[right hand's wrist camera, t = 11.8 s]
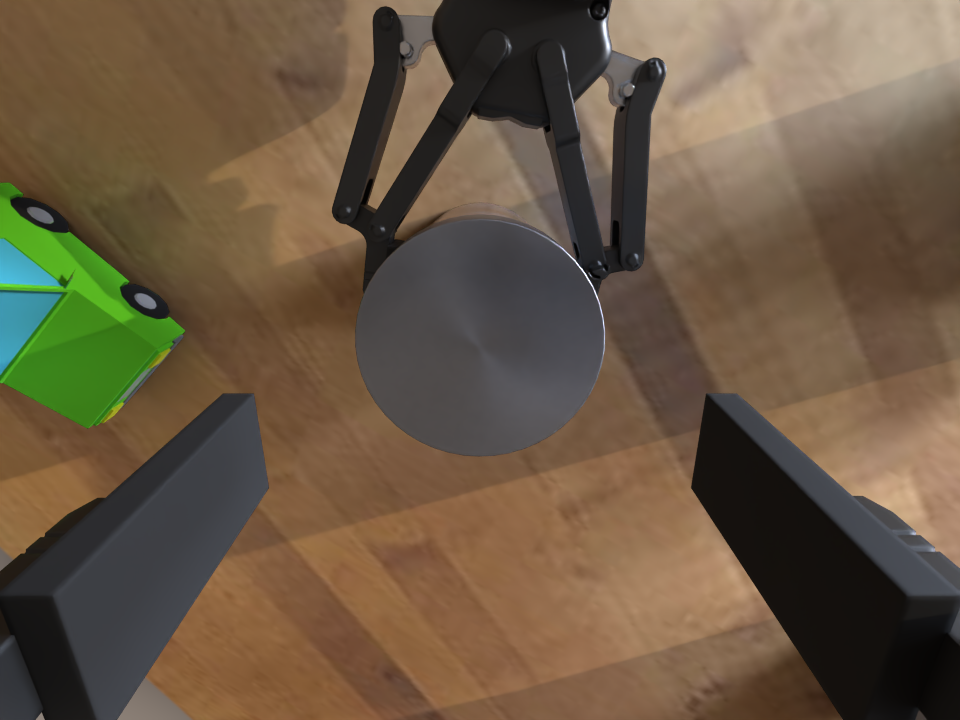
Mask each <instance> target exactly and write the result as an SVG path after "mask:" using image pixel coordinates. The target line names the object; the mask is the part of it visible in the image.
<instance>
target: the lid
mask: <svg viewBox="0 0 960 720" xmlns="http://www.w3.org/2000/svg"><path fill="white" fill-rule="evenodd" d="M355 347H356V354H357V361H358V364H359V368H360V371H361V375H362V377H363V380H364V382H365V384H366V387H367V389H368V391H369V393H370V394H371V396H372V397H373V399H374V401H375V402H376V404H377V405H378V406H379V408H380V409H381V410H382V411H383V413H384V414H385V415H386V416H387V417H388V418H389V419H390V420H391V421H392V422H393V423H394V424H395V425H396V426H397V427H399V428H400V429H401V430H403V431H404V432H405V433H407V434H408V435H410V436H411V437H413V438H415V439H416V440H418V441H420V442H422V443H424V444H426V445H428V446H431V447H433V448H436V449H439V450H442V451H445V452H449V453H454V454H459V455H466V456H495V455H501V454H507V453H511V452H515V451H518V450H522V449H525V448H527V447H529V446H532V445H534V444H537V443H538V442H540V441H542V440H544V439H546V438H547V437H549V436H551V435H552V434H553V433H555V432H556V431H558V430H559V429H560V428H562V427H563V426H564V425H565V424H566V423H567V422H568V421H569V420H570V419H571V418H572V417H573V416H574V415H575V414H576V413H577V412H578V410H579V409H580V408H581V407H582V405H583V404H584V402H585V401H586V399H587V398H588V396H589V395H590V393H591V391H592V389H593V387H594V385H595V382H596V380H597V378H598V375H599V372H600V368H601V365H602V360H603V354H604V348H605V329H604V320H603V314H602V311H601V307H600V303H599V300H598V298H597V295H596V293H595V290H594V288H593V286H592V284H591V282H590V281H589V279H588V277H587V276H586V274H585V272H584V271H583V270H582V269H581V267H580V266H579V265H578V263H577V262H576V261H575V260H574V259H573V258H572V257H571V256H570V255H569V254H568V253H567V252H566V251H565V250H564V249H563V248H562V247H561V246H560V245H559V244H558V243H557V242H556V241H554V240H553V239H552V238H550V237H549V236H548V235H546V234H545V233H543V232H542V231H540V230H538V229H536V228H534V227H532V226H530V225H529V224H526V223H523V222H520V221H518V220H515V219H511V218H507V217H502V216H497V215H484V214H477V215H464V216H458V217H453V218H449V219H446V220H443V221H440V222H437V223H434V224H432V225H430V226H428V227H426V228H424V229H422V230H420V231H418V232H417V233H416V234H414V235H413V236H411V237H410V238H408V239H407V240H406V241H405V242H403V243H402V244H401V245H400V246H399V247H398V248H397V249H396V250H395V251H394V252H393V253H392V254H391V255H390V256H389V257H388V258H387V259H386V260H385V261H384V263H383V264H382V265H381V266H380V267H379V269H378V270H377V271H376V273H375V274H374V276H373V278H372V279H371V281H370V282H369V284H368V286H367V288H366V291H365V293H364V295H363V298H362V300H361V304H360V307H359V311H358V314H357V321H356V329H355Z"/></svg>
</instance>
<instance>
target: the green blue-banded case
mask: <svg viewBox="0 0 960 720" xmlns="http://www.w3.org/2000/svg"><path fill="white" fill-rule="evenodd" d="M23 195H24V194H23V193H21V192H20V191H19V190H18V189H17V188H15V187H14V186H13V185H12V184H10V183H0V383H4V384H6V385H8V386H10V387H11V388H13V389H15V390H17V391H19V392H21V393H23V394H24V395H26V396H28V397H30V398H32V399H34V400H36V401H37V402H39V403H41V404H43V405H45V406H47V407H49V408H50V409H52V410H54V411H56V412H58V413H60V414H61V415H63V416H65V417H67V418H69V419H71V420H73V421H74V422H76V423H78V424H80V425H82V426H84V427H86V428H87V429H88V428H89V427H91V426H92V425H95V426H97V425H98V424H100V423H101V422H102V423H104V422H106V421H107V420H109V419H110V418H112V417H113V416H114V415H115V414H116V413H117V412H118V411H119V409H121V408H122V407H123V406H124V405H125V404H126V403H127V402H128V401H129V400H130V398H131V397H132V396H133V395H134V394H135V393H136V391H137V390H138V389H139V388H140V387H141V386H142V385H143V383H144V382H145V381H146V380H147V379H148V378H149V377H150V375H151V374H152V373H153V372H154V371H155V370H156V368H157V367H158V366H159V365H160V364H161V363H162V362H163V360H164V359H165V358H166V357H167V356H168V355H169V354H170V352H171V351H172V350H173V349H174V348H175V347H176V345H177V344H178V343H179V342H180V341H181V340H182V339H183V337H184V336H182V334H183V333H184V332H185V330H184V329H183V328H182V327H180V326H179V325H178V324H177V323H176V322H175V321H174V320H173V319H171V318H170V317H168V318H167V319H165V318H166V316H167V315H168V313H169V310H168V306H167V304H166V303H165V302H164V301H163V300H162V298H161V297H160V296H159V295H157V294H155V293H154V292H152V291H151V290H149V289H148V288H145V287H142V286H139V285H136V284H128V283H129V281H128V280H127V279H126V278H125V277H124V276H123V275H121V274H120V273H119V272H118V271H116V270H115V269H114V268H113V267H112V266H110V265H109V264H108V263H107V262H106V261H104V260H103V259H102V258H101V257H99V256H98V255H97V254H96V253H95V252H93V251H92V250H91V249H90V248H88V247H87V246H86V245H85V244H84V243H82V242H81V241H80V240H79V239H77V238H76V237H75V236H74V235H73V234H71V233H70V232H68V230H69V228H68V223H67V221H66V220H65V219H64V218H63V217H62V216H61V215H60V214H59V213H58V212H56V211H55V210H53V209H52V208H50V207H49V206H47V205H46V204H43V203H41V202H38V201H36V200H33V199H31V198H23V197H22V196H23ZM67 232H68V233H67Z"/></svg>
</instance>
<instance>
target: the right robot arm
mask: <svg viewBox="0 0 960 720" xmlns="http://www.w3.org/2000/svg"><path fill="white" fill-rule="evenodd" d="M268 489H269V485H268V479H267V473H266V466H265V460H264V454H263V448H262V441H261V435H260V429H259V423H258V416H257V410H256V404H255V398H254V394H222V395H221V396H220V397H219V398H218V399H216V400H215V401H214V402H213V403H212V404H211V405H210V406H209V407H207V408H206V409H205V410H204V411H203V412H202V413H201V414H200V415H198V416H197V417H196V418H195V419H194V420H193V421H192V422H191V423H189V424H188V425H187V426H186V427H185V428H184V429H183V430H182V431H180V432H179V433H178V434H177V435H176V436H175V437H174V438H173V439H171V440H170V441H169V442H168V443H167V444H166V445H165V446H164V447H162V448H161V449H160V450H159V451H158V452H157V453H156V454H154V455H153V456H152V457H151V458H150V459H149V460H148V461H147V462H145V463H144V464H143V465H142V466H141V467H140V468H139V469H138V470H136V471H135V472H134V473H133V474H132V475H131V476H130V477H129V478H127V479H126V480H125V481H124V482H123V483H122V484H121V485H120V486H118V487H117V488H116V489H115V490H114V491H113V492H112V493H111V494H109V495H108V496H107V497H106V498H96V499H95V500H93V501H91V502H89V503H87V504H85V505H84V506H82V507H80V508H78V509H76V510H74V511H73V512H71V513H69V514H67V515H66V516H65V517H64V518H63V519H61V520H60V521H59V522H58V523H57V524H55V525H54V526H53V527H52V528H51V529H50V530H48V531H47V532H46V533H45V537H40V538H39V539H38V540H37V541H35V542H34V543H33V544H32V545H31V546H29V547H28V548H27V549H26V553H25V554H20V555H19V556H18V557H16V558H15V559H14V560H13V561H12V562H11V563H9V564H8V565H7V566H6V567H5V568H3V569H2V570H1V571H0V720H36V718H37V717H38V716H39V715H40V713H41V712H42V714H43V716H44V719H45V720H117V719H118V717H119V716H120V714H121V713H122V711H123V710H124V708H125V707H126V705H127V704H128V702H129V701H130V699H131V698H132V696H133V695H134V693H135V691H136V690H137V688H138V687H139V685H140V684H141V682H142V681H143V679H144V678H145V676H146V675H147V673H148V672H149V670H150V669H151V667H152V666H153V664H154V662H155V661H156V659H157V658H158V656H159V655H160V653H161V652H162V650H163V649H164V647H165V646H166V644H167V643H168V641H169V640H170V638H171V637H172V635H173V633H174V632H175V630H176V629H177V627H178V626H179V624H180V623H181V621H182V620H183V618H184V617H185V615H186V614H187V612H188V611H189V609H190V608H191V606H192V605H193V603H194V601H195V600H196V598H197V597H198V595H199V594H200V592H201V591H202V589H203V588H204V586H205V585H206V583H207V582H208V580H209V579H210V577H211V576H212V574H213V572H214V571H215V569H216V568H217V566H218V565H219V563H220V562H221V560H222V559H223V557H224V556H225V554H226V553H227V551H228V550H229V548H230V547H231V545H232V543H233V542H234V540H235V539H236V537H237V536H238V534H239V533H240V531H241V530H242V528H243V527H244V525H245V524H246V522H247V521H248V519H249V518H250V516H251V514H252V513H253V511H254V510H255V508H256V507H257V505H258V504H259V502H260V501H261V499H262V498H263V496H264V495H265V493H266V492H267V490H268ZM691 489H692V490H693V492H694V493H695V495H696V496H697V498H698V499H699V501H700V502H701V504H702V505H703V507H704V508H705V510H706V511H707V513H708V514H709V516H710V518H711V519H712V521H713V522H714V524H715V525H716V527H717V528H718V530H719V531H720V533H721V534H722V536H723V537H724V539H725V540H726V542H727V543H728V545H729V547H730V548H731V550H732V551H733V553H734V554H735V556H736V557H737V559H738V560H739V562H740V563H741V565H742V566H743V568H744V569H745V571H746V572H747V574H748V576H749V577H750V579H751V580H752V582H753V583H754V585H755V586H756V588H757V589H758V591H759V592H760V594H761V595H762V597H763V598H764V600H765V601H766V603H767V605H768V606H769V608H770V609H771V611H772V612H773V614H774V615H775V617H776V618H777V620H778V621H779V623H780V624H781V626H782V627H783V629H784V630H785V632H786V633H787V635H788V637H789V638H790V640H791V641H792V643H793V644H794V646H795V647H796V649H797V650H798V652H799V653H800V655H801V656H802V658H803V659H804V661H805V662H806V664H807V666H808V667H809V669H810V670H811V672H812V673H813V675H814V676H815V678H816V679H817V681H818V682H819V684H820V685H821V687H822V688H823V690H824V691H825V693H826V695H827V696H828V698H829V699H830V701H831V702H832V704H833V705H834V707H835V708H836V710H837V711H838V713H839V714H840V716H841V717H842V719H843V720H960V568H959V567H957V566H956V565H955V564H954V563H953V562H951V561H950V560H949V559H948V558H947V557H946V556H944V555H943V554H942V553H941V552H936V551H935V547H934V546H932V545H931V544H930V543H929V542H928V541H926V540H925V539H924V538H923V537H922V536H920V535H916V531H915V530H913V529H912V528H911V527H910V526H909V525H907V524H906V523H905V522H904V521H903V520H901V519H900V518H899V517H898V516H897V515H895V514H894V513H893V512H891V511H890V510H888V509H886V508H884V507H882V506H880V505H878V504H877V503H875V502H873V501H871V500H869V499H867V498H866V497H864V496H852V495H851V494H849V493H848V492H847V491H846V490H845V489H844V488H843V487H842V486H840V485H839V484H838V483H837V482H836V481H835V480H834V479H833V478H831V477H830V476H829V475H828V474H827V473H826V472H825V471H824V470H822V469H821V468H820V467H819V466H818V465H817V464H816V463H815V462H813V461H812V460H811V459H810V458H809V457H808V456H807V455H806V454H804V453H803V452H802V451H801V450H800V449H799V448H798V447H796V446H795V445H794V444H793V443H792V442H791V441H790V440H789V439H787V438H786V437H785V436H784V435H783V434H782V433H781V432H780V431H778V430H777V429H776V428H775V427H774V426H773V425H772V424H771V423H769V422H768V421H767V420H766V419H765V418H764V417H763V416H762V415H760V414H759V413H758V412H757V411H756V410H755V409H754V408H753V407H751V406H750V405H749V404H748V403H747V402H746V401H745V400H744V399H742V398H741V397H740V396H739V395H738V394H706V398H705V404H704V410H703V416H702V423H701V429H700V435H699V441H698V448H697V454H696V460H695V466H694V473H693V479H692V485H691Z"/></svg>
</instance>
